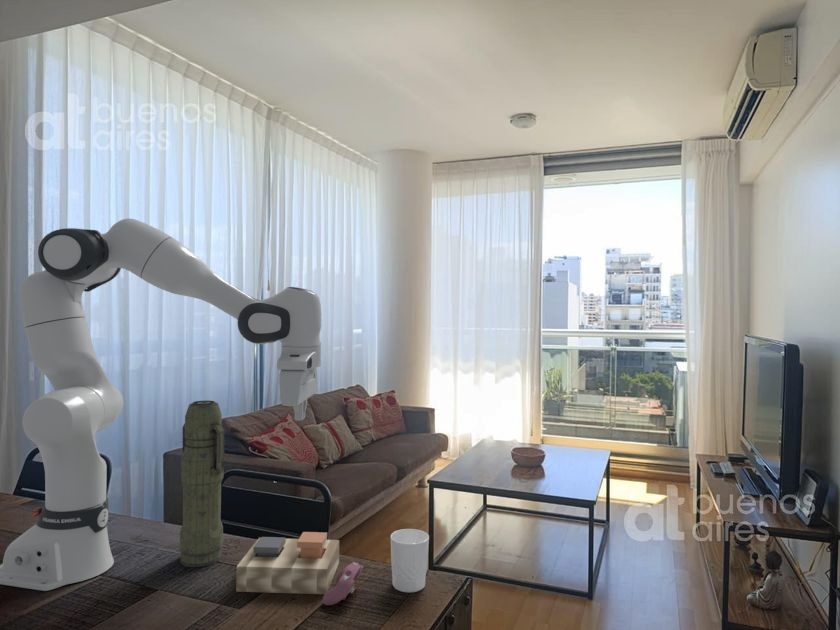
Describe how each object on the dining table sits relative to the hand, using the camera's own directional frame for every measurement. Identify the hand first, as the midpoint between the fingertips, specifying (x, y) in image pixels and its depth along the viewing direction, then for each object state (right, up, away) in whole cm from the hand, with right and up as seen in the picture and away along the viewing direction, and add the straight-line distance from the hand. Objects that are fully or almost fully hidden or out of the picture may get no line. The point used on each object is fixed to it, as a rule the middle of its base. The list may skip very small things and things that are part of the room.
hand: (300, 419), depth 127 cm
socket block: (0, -31, -10) cm, 33 cm away
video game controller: (+12, -32, -17) cm, 38 cm away
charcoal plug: (-4, -31, -10) cm, 32 cm away
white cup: (+25, -32, -13) cm, 42 cm away
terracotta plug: (+5, -30, -10) cm, 32 cm away
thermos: (-22, -31, -2) cm, 38 cm away
